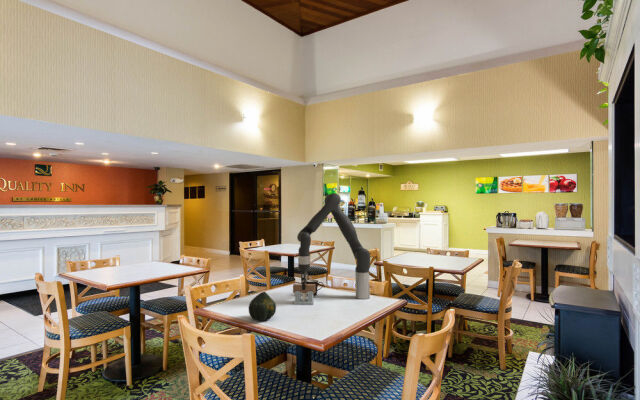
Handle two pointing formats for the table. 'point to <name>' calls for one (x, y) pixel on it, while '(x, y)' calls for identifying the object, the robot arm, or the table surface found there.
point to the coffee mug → (315, 285)
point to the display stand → (303, 300)
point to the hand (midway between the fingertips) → (304, 288)
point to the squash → (262, 307)
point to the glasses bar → (307, 288)
